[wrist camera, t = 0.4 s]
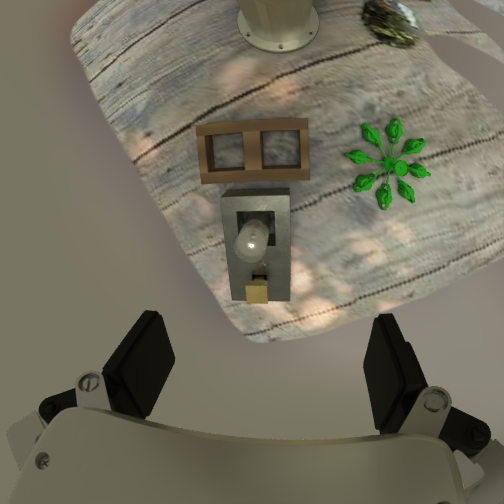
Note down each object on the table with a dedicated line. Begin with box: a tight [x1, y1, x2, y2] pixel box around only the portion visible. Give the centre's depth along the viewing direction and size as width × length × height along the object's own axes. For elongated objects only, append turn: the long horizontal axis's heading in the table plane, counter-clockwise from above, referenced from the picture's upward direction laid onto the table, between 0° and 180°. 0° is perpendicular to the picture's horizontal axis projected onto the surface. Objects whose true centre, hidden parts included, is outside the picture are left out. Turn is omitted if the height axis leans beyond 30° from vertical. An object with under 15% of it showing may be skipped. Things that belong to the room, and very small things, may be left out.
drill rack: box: [196, 118, 310, 184], centre depth 38 cm, size 9×16×4 cm, turn 94°
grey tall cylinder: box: [234, 211, 272, 263], centre depth 40 cm, size 4×4×12 cm
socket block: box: [220, 188, 291, 301], centre depth 44 cm, size 18×10×5 cm, turn 4°
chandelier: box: [345, 118, 431, 210], centre depth 35 cm, size 15×15×7 cm
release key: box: [245, 275, 268, 304], centre depth 44 cm, size 3×3×6 cm
